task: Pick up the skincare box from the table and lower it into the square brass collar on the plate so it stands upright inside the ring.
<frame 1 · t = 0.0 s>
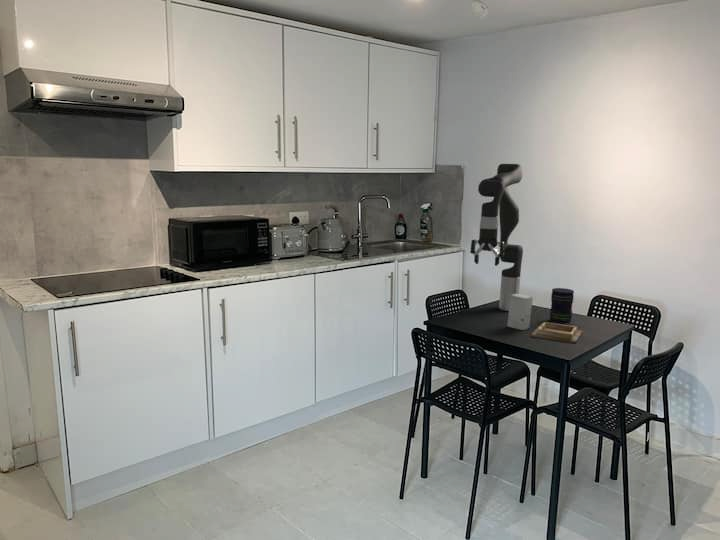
hand: (486, 264, 240), 29 cm above the table, tool pointing down, fingers open, 8 cm apart
skincare box: (518, 328, 250), on the table
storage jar: (560, 321, 263), on the table
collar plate: (557, 334, 240), on the table
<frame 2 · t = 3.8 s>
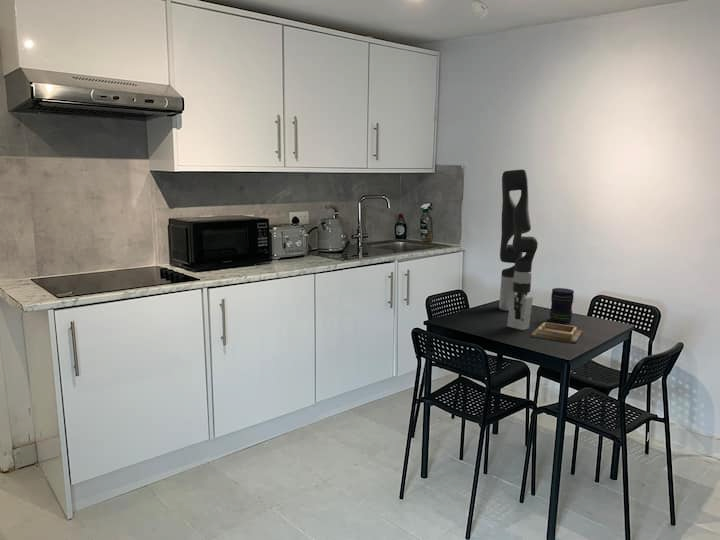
hand: (519, 317, 249), 5 cm above the table, tool pointing down, fingers closed on skincare box, 7 cm apart
skincare box: (518, 327, 250), on the table, touching gripper
everything else where it was.
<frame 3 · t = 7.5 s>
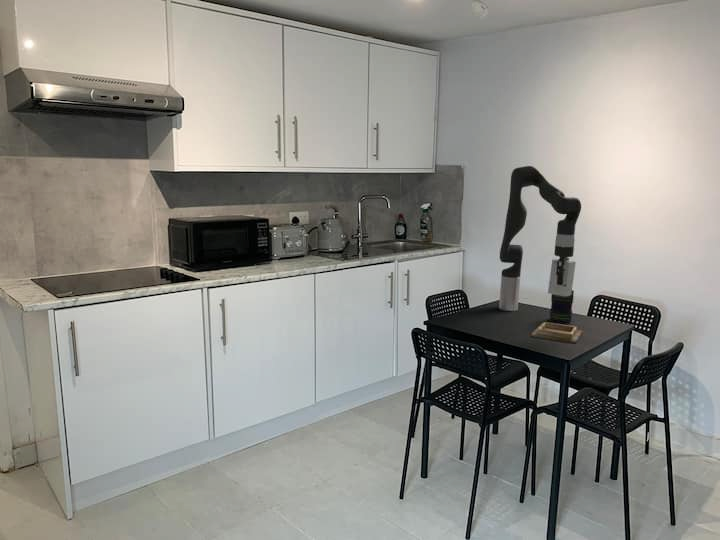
hand: (561, 283, 236), 23 cm above the table, tool pointing down, fingers closed on skincare box, 7 cm apart
skincare box: (560, 294, 237), point 18 cm above the table, touching gripper
everything else where it was.
when the fingers open (8 cm above the table, at t = 11.3 s): skincare box drops 2 cm, resting on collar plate.
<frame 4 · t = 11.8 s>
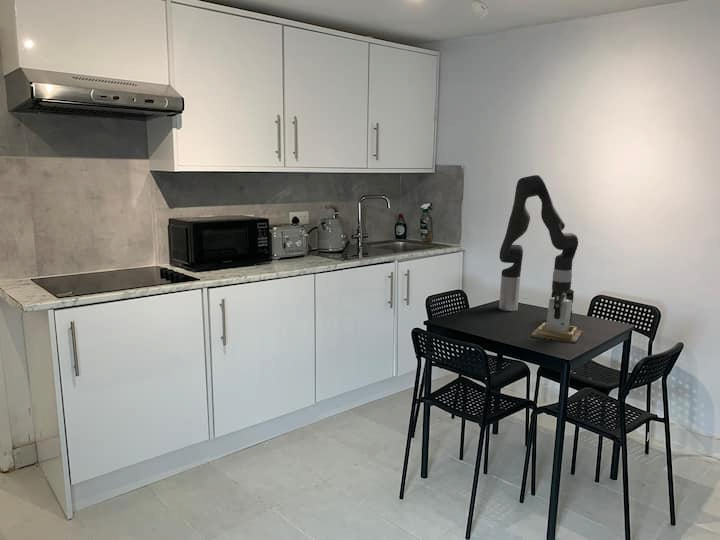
hand: (558, 316, 239), 8 cm above the table, tool pointing down, fingers open, 8 cm apart
skincare box: (557, 332, 241), point 1 cm above the table, touching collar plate
everything else where it was.
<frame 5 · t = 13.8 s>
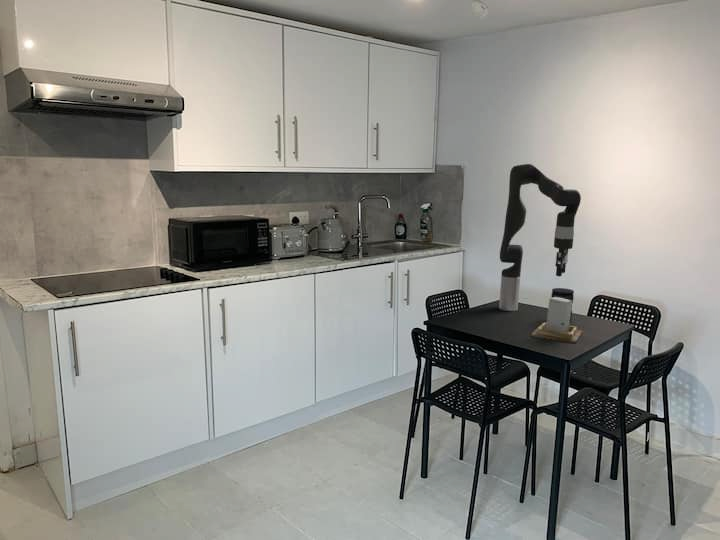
hand: (560, 274, 238), 26 cm above the table, tool pointing down, fingers open, 8 cm apart
nothing on the table moved.
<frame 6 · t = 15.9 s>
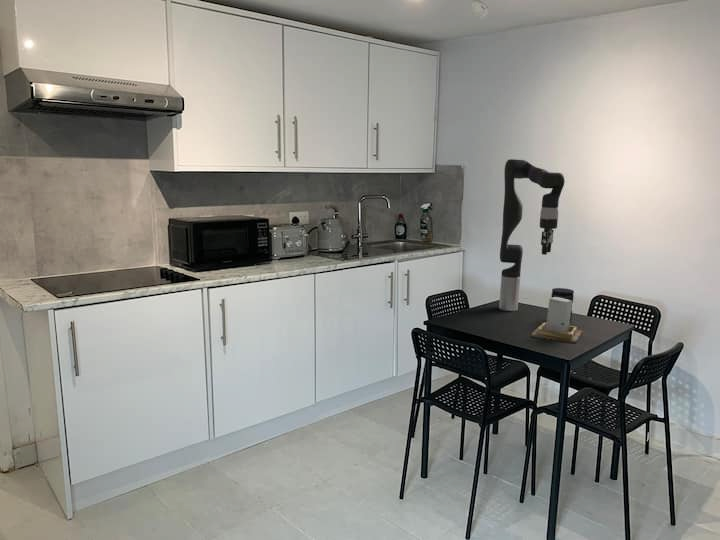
hand: (546, 253, 251), 33 cm above the table, tool pointing down, fingers open, 8 cm apart
nothing on the table moved.
at the end: skincare box 0.5 cm off-centre on the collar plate, point 0.8 cm above the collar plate's base; skincare box tilted 0°; the gripper is holding nothing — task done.
